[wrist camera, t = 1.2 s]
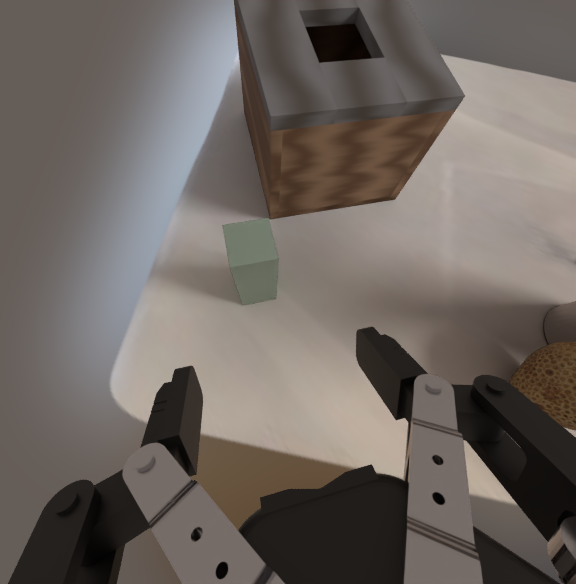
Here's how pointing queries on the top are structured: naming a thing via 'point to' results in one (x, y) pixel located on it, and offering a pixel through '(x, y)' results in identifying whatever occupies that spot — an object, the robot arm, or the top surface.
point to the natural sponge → (551, 381)
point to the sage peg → (252, 259)
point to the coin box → (339, 99)
